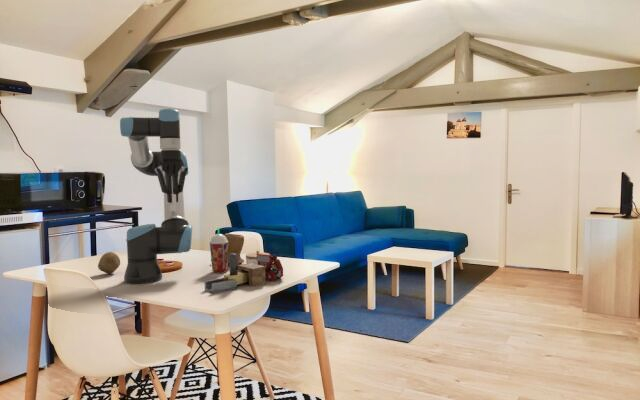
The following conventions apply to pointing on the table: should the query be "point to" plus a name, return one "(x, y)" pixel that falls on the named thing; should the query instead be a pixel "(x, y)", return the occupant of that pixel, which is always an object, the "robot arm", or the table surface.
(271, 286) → the table surface
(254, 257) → the lidded jar
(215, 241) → the smoothie
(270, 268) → the toy fire truck
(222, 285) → the channel
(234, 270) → the brass block with handle
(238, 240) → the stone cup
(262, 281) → the socket
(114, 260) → the natural sponge
